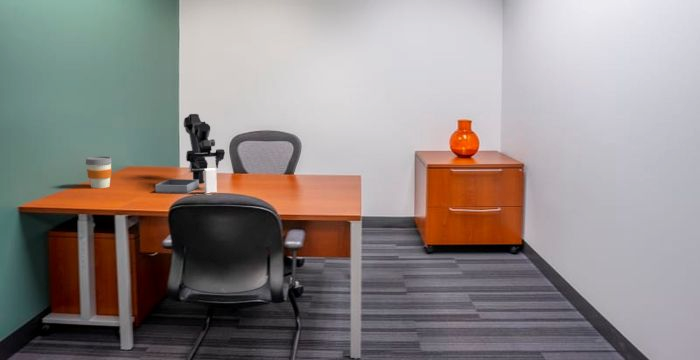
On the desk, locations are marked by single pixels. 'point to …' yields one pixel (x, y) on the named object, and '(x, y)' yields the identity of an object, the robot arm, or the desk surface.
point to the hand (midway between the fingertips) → (208, 168)
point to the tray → (177, 186)
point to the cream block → (210, 180)
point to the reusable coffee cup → (99, 171)
